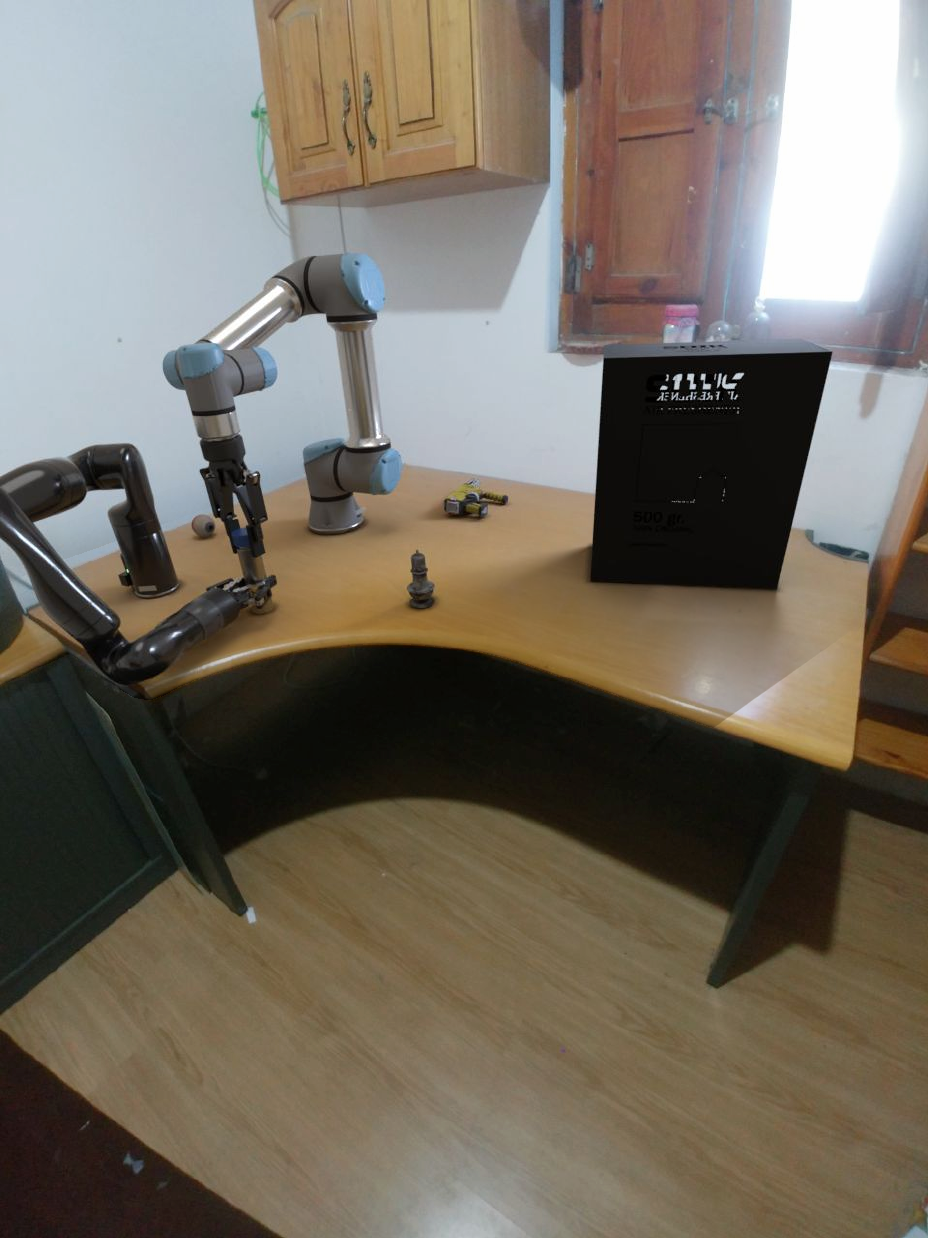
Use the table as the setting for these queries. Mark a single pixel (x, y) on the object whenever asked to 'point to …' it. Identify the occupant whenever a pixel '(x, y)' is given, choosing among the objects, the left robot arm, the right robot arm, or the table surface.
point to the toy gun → (471, 499)
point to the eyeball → (203, 525)
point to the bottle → (253, 574)
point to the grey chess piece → (420, 583)
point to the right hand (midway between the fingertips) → (249, 552)
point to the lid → (240, 537)
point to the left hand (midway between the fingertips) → (265, 577)
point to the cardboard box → (703, 460)
